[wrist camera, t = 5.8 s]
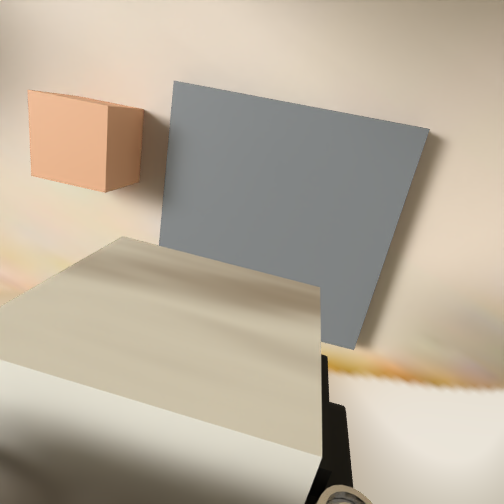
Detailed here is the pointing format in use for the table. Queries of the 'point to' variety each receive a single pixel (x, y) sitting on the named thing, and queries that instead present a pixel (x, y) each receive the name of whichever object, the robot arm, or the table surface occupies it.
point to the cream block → (160, 383)
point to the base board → (288, 193)
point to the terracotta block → (84, 141)
